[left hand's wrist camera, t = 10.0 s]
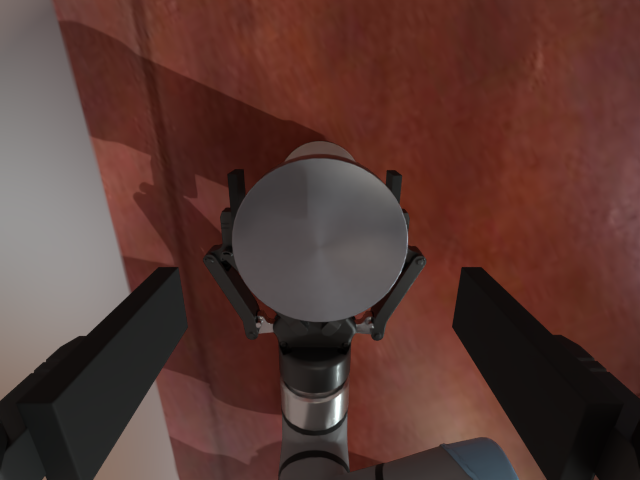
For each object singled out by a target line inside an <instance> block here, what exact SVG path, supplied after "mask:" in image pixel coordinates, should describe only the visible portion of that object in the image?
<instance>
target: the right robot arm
mask: <svg viewBox="0 0 640 480" xmlns="http://www.w3.org/2000/svg"><path fill="white" fill-rule="evenodd" d="M227 175H228V186H229V197H230V208H225V209H224V210H223V211H222V213H221V216H220V220H221V230H222V240H223V244H221V245H214V246H213V247H212V248H211V249H210V250H209V251H208V253H207V254H206V255H205V256H204V258H203V262H204V264H205V265H206V267H207V268H208V270H209V271H210V273H211V274H212V276H213V277H214V279H215V280H216V282H217V283H218V285H219V286H220V288H221V289H222V291H223V292H224V294H225V295H226V297H227V298H228V300H229V301H230V303H231V304H232V306H233V307H234V309H235V310H236V312H237V313H238V315H239V316H240V318H241V319H242V321H243V324H244V329H245V333H246V336H247V338H248V339H250V340H254V339H256V338H257V337H258V334H259V333H269V332H274V333H275V335H276V336H277V338H278V343H279V365H280V374H281V375H280V387H281V404H282V405H281V407H282V447H281V456H280V465H279V475H278V476H279V479H278V480H519V478H518V477H517V475H516V473H515V471H514V469H513V467H512V465H511V463H510V461H509V460H508V458H507V456H506V455H505V453H504V452H503V450H502V449H501V447H500V446H499V445H498V444H497V443H496V442H494V441H493V440H491V439H489V438H485V437H479V438H475V439H470V440H465V441H460V442H456V443H451V444H444V443H443V444H440V446H438V447H435V448H432V449H429V450H426V451H423V452H419V453H416V454H413V455H410V456H407V457H404V458H400V459H397V460H394V461H391V462H388V463H382V464H378V465H374V466H371V467H367V468H364V469H360V470H357V471H353V472H350V470H349V459H348V447H347V411H348V402H349V372H350V356H351V340H352V338H353V336H354V335H355V333H363V334H371V337H372V339H374V340H376V341H378V340H381V339H382V338H383V336H384V332H385V327H386V323H387V321H388V319H389V318H390V316H391V315H392V313H393V312H394V310H395V309H396V307H397V306H398V304H399V303H400V301H401V300H402V298H403V297H404V295H405V294H406V293H407V291H408V290H409V288H410V287H411V285H412V284H413V282H414V281H415V279H416V278H417V276H418V275H419V273H420V272H421V270H422V269H423V267H424V266H425V264H426V259H425V257H424V256H423V254H422V253H421V252H420V250H419V249H418V248H417V247H415V246H409V245H408V247H407V254H406V259H405V263H404V265H403V268H402V271H401V273H400V275H399V277H398V278H397V280H396V282H395V283H394V285H393V286H392V288H391V289H390V290H389V291H388V292H387V293H386V295H385V296H384V297H383V298H382V299H380V300H379V301H378V302H377V303H376V304H374V305H373V306H372V307H371V310H370V311H366V312H365V314H364V315H363V317H362V318H361V319H358V320H356V319H355V317H354V316H352V317H349V318H346V319H341V320H337V321H330V322H311V321H303V320H299V319H294V318H291V317H288V316H285V315H283V314H281V313H279V312H277V311H275V310H274V311H275V312H276V313H277V315H276V316H275V318H274V319H271V318H269V317H268V316H267V315H266V313H265V311H264V310H260V309H259V306H258V303H257V302H256V300H255V298H254V297H253V295H252V293H251V292H250V290H249V289H248V287H247V286H246V284H245V282H244V281H243V279H242V278H241V276H240V275H239V273H238V272H239V271H238V268H237V266H236V263H235V259H234V255H233V247H232V231H233V226H234V220H235V217H236V214H237V211H238V209H239V207H240V205H241V203H242V201H243V199H244V198H245V182H244V169H235V170H233V171H232V172H230V173H229V174H227ZM401 181H402V175H401V174H399V173H398V172H397V171H395V170H387V175H386V186H387V187H388V188H389V190H390V191H391V192H392V194H393V195H394V196H395V198H396V199H397V201H398V203H400V192H401ZM402 212H403V215H404V217H405V221H406V226H407V232H408V229H409V219H410V218H409V215H408V213H407V212H406V210H405V209H402Z"/></svg>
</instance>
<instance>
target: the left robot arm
mask: <svg viewBox="0 0 640 480" xmlns="http://www.w3.org/2000/svg"><path fill="white" fill-rule="evenodd" d="M187 327H188V325H187V319H186V312H185V306H184V300H183V294H182V287H181V281H180V275H179V269H178V267H158V268H157V269H156V270H155V271H154V272H153V273H152V274H151V275H150V276H149V277H148V278H147V279H146V280H145V281H144V282H143V283H142V284H140V285H139V286H138V287H137V288H136V289H135V290H134V291H133V292H132V293H131V294H130V295H129V296H128V297H127V298H126V299H125V300H124V301H123V302H121V303H120V304H119V305H118V306H117V307H116V308H115V309H114V310H113V311H112V312H111V313H110V314H109V315H108V316H107V317H106V318H105V319H104V320H103V321H101V322H100V323H99V324H98V325H97V326H96V327H95V328H94V329H93V330H92V331H91V332H90V333H89V334H88V335H87V336H79V337H77V338H75V339H73V340H72V341H70V342H68V343H66V344H65V345H63V346H61V347H60V348H59V349H58V350H56V351H55V352H54V353H53V354H52V355H51V356H50V357H49V358H48V359H46V362H43V363H42V364H41V365H40V366H39V367H37V368H36V369H35V370H34V373H31V374H30V375H29V376H27V377H26V378H25V379H24V380H23V381H22V382H21V383H20V384H19V385H17V386H16V387H15V388H14V389H13V390H12V391H11V392H10V393H8V394H7V395H6V396H5V397H4V398H3V399H2V400H1V401H0V480H42V479H43V478H44V477H45V476H46V479H47V480H93V479H94V477H95V476H96V474H97V472H98V471H99V469H100V468H101V466H102V464H103V463H104V461H105V460H106V458H107V456H108V455H109V453H110V451H111V450H112V448H113V447H114V445H115V443H116V442H117V440H118V439H119V437H120V435H121V434H122V432H123V431H124V429H125V427H126V426H127V424H128V422H129V421H130V419H131V418H132V416H133V414H134V413H135V411H136V410H137V408H138V406H139V405H140V403H141V401H142V400H143V398H144V397H145V395H146V394H147V392H148V390H149V389H150V387H151V385H152V384H153V382H154V381H155V379H156V377H157V376H158V374H159V373H160V371H161V369H162V368H163V366H164V365H165V363H166V361H167V360H168V358H169V356H170V355H171V353H172V352H173V350H174V348H175V347H176V345H177V344H178V342H179V340H180V339H181V337H182V336H183V334H184V332H185V331H186V329H187ZM452 327H453V329H454V331H455V332H456V334H457V336H458V337H459V339H460V340H461V342H462V344H463V345H464V347H465V348H466V350H467V352H468V353H469V355H470V356H471V358H472V360H473V361H474V363H475V365H476V366H477V368H478V369H479V371H480V373H481V374H482V376H483V377H484V379H485V381H486V382H487V384H488V385H489V387H490V389H491V390H492V392H493V394H494V395H495V397H496V398H497V400H498V402H499V403H500V405H501V406H502V408H503V410H504V411H505V413H506V414H507V416H508V418H509V419H510V421H511V422H512V424H513V426H514V427H515V429H516V431H517V432H518V434H519V435H520V437H521V439H522V440H523V442H524V443H525V445H526V447H527V448H528V450H529V451H530V453H531V455H532V456H533V458H534V460H535V461H536V463H537V464H538V466H539V468H540V469H541V471H542V472H543V474H544V476H545V477H546V479H547V480H593V479H594V476H595V475H596V476H597V477H598V479H599V480H640V399H639V398H638V397H637V396H636V395H635V394H634V393H632V392H631V391H630V390H629V389H628V388H627V387H626V386H625V385H623V384H622V383H621V382H620V381H619V380H618V379H617V378H616V377H614V376H613V375H612V374H611V373H610V372H607V371H606V369H605V368H604V367H603V366H602V365H601V364H600V363H599V362H598V361H595V360H594V358H593V357H592V356H591V355H590V354H589V353H588V352H586V351H585V350H584V349H583V348H582V347H581V346H580V345H578V344H576V343H574V342H573V341H571V340H569V339H567V338H566V337H564V336H562V335H552V334H551V333H550V332H549V331H548V330H547V329H546V328H545V327H544V326H543V325H542V324H541V323H540V322H539V321H537V320H536V319H535V318H534V317H533V316H532V315H531V314H530V313H529V312H528V311H527V310H526V309H525V308H524V307H523V306H522V305H521V304H520V303H518V302H517V301H516V300H515V299H514V298H513V297H512V296H511V295H510V294H509V293H508V292H507V291H506V290H505V289H504V288H503V287H502V286H501V285H500V284H498V283H497V282H496V281H495V280H494V279H493V278H492V277H491V276H490V275H489V274H488V273H487V272H486V271H485V270H484V269H483V268H482V267H462V269H461V275H460V281H459V287H458V294H457V300H456V306H455V312H454V319H453V325H452Z"/></svg>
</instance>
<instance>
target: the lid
mask: <svg viewBox="0 0 640 480" xmlns="http://www.w3.org/2000/svg"><path fill="white" fill-rule="evenodd" d="M232 247H233V255H234V259H235V263H236V266H237V268H238V271H239V273H240V275H241V277H242V278H243V280H244V282H245V284H246V285H247V286H248V288H249V289H250V290H251V291H252V293H253V294H254V295H255V296H256V297H257V298H258V299H259V300H261V301H262V302H263V303H264V304H266V305H267V306H269V307H270V308H272V309H273V310H275V311H277V312H279V313H281V314H283V315H285V316H288V317H291V318H294V319H299V320H303V321H311V322H330V321H337V320H341V319H346V318H349V317H352V316H354V315H357V314H359V313H361V312H363V311H365V310H367V309H368V308H370V307H371V306H373V305H374V304H376V303H377V302H378V301H379V300H380V299H382V298H383V297H384V296H385V295H386V293H387V292H388V291H389V290H390V289H391V288H392V286H393V285H394V283H395V282H396V280H397V278H398V277H399V275H400V273H401V271H402V268H403V265H404V263H405V259H406V254H407V247H408V232H407V226H406V221H405V217H404V215H403V212H402V209H401V207H400V205H399V203H398V201H397V199H396V198H395V196H394V195H393V194H392V192H391V191H390V190H389V188H388V187H387V186H386V185H385V184H384V183H383V182H382V181H381V180H380V179H379V178H378V177H377V176H376V175H375V174H374V173H373V172H371V171H370V170H369V169H368V168H366V167H364V166H363V165H361V164H359V163H357V162H355V161H353V160H350V159H348V158H344V157H340V156H337V155H329V154H311V155H304V156H299V157H296V158H292V159H290V160H287V161H285V162H283V163H281V164H279V165H277V166H276V167H274V168H272V169H271V170H270V171H269V172H267V173H266V174H265V175H264V176H263V177H262V178H261V179H260V180H259V181H258V182H257V183H256V184H255V185H254V186H253V187H252V188H251V190H250V191H249V192H248V194H247V195H246V196H245V198H244V199H243V201H242V203H241V205H240V207H239V209H238V211H237V214H236V217H235V220H234V226H233V231H232Z"/></svg>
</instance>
